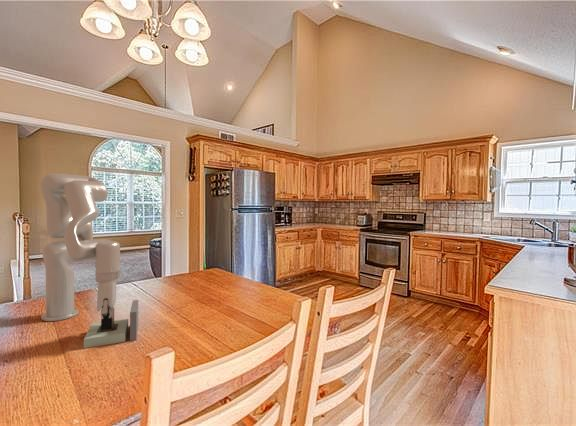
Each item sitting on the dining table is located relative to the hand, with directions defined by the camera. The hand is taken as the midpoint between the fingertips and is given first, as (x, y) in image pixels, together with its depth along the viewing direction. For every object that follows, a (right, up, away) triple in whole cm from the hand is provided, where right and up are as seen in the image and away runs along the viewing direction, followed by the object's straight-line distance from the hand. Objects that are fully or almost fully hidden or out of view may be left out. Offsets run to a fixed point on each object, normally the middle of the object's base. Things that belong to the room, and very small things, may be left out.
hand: (107, 325), depth 106 cm
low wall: (+8, -4, +4) cm, 9 cm away
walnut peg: (0, -4, 0) cm, 4 cm away
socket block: (0, -4, 0) cm, 4 cm away
